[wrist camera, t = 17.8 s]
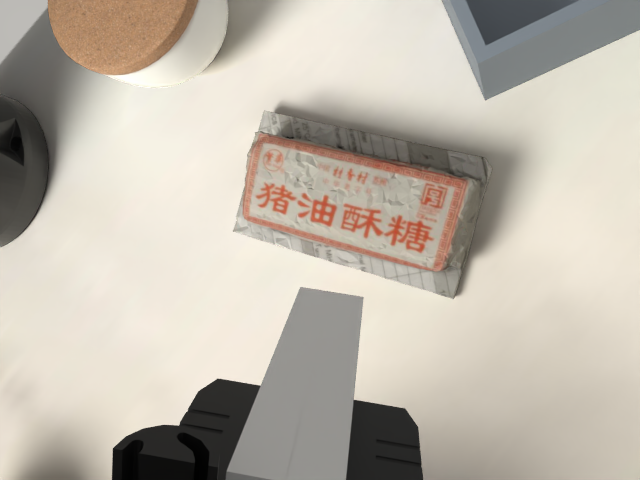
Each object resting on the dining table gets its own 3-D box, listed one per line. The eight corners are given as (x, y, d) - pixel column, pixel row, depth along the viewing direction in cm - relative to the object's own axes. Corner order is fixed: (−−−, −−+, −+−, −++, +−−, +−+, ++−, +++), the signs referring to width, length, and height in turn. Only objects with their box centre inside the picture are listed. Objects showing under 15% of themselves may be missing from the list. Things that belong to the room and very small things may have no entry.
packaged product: (492, 147, 35) (447, 301, 35) (495, 162, 40) (456, 299, 40) (243, 96, 41) (207, 227, 42) (271, 114, 46) (238, 233, 46)
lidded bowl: (107, 21, 52) (2, -46, 41) (216, -66, 48) (132, -161, 38) (158, 136, 49) (60, 95, 38) (278, 52, 46) (206, -16, 35)
